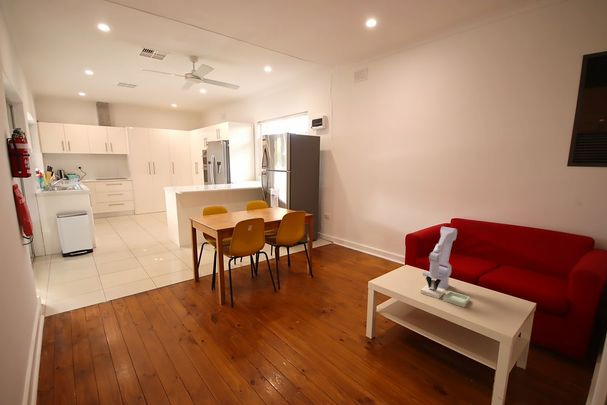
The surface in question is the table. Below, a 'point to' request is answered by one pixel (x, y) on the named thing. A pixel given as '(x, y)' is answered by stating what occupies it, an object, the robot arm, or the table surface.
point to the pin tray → (456, 298)
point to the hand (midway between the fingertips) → (432, 288)
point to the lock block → (436, 293)
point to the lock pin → (432, 285)
